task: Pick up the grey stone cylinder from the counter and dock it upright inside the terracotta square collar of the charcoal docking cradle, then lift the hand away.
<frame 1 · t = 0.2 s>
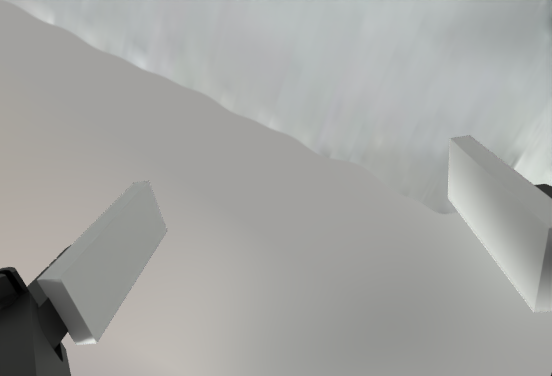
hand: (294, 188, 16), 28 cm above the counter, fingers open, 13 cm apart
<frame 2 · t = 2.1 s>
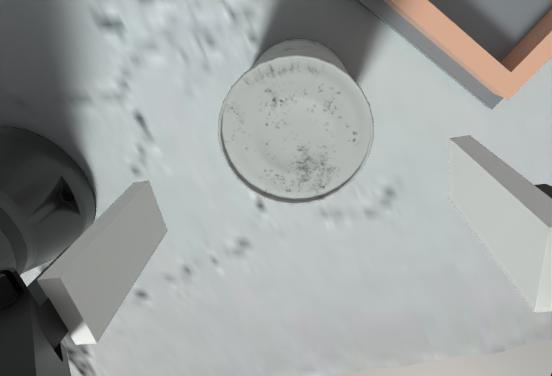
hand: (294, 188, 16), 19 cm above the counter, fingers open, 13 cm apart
grey stone cylinder: (297, 94, 33), on the counter
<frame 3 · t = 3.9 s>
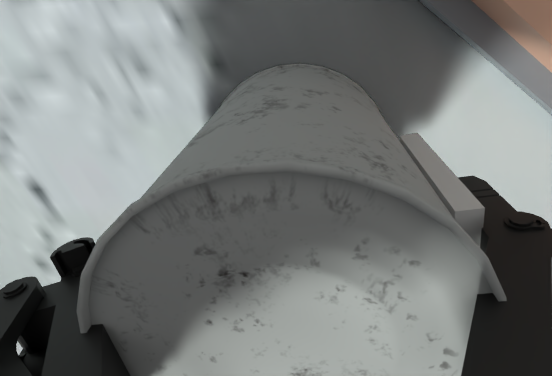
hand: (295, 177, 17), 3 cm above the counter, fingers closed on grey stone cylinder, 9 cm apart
grey stone cylinder: (296, 155, 19), on the counter, touching gripper
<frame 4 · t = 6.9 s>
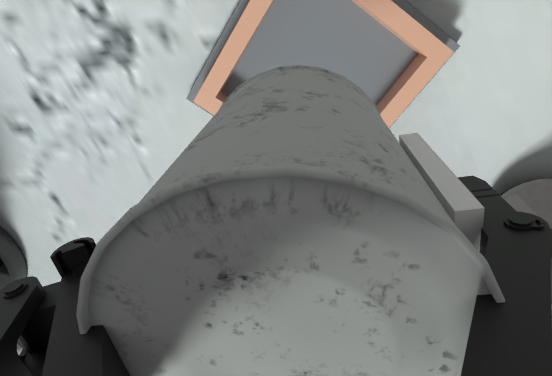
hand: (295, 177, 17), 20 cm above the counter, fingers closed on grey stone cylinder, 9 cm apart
grey stone cylinder: (296, 157, 19), point 18 cm above the counter, touching gripper
docking cradle: (315, 71, 34), on the counter
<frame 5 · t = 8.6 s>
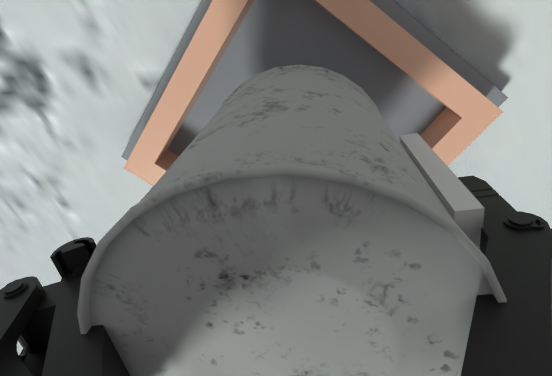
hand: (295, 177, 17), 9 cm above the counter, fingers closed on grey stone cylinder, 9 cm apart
grey stone cylinder: (297, 156, 19), point 6 cm above the counter, touching gripper
docking cradle: (299, 125, 24), on the counter
when the fingers open (5 cm above the counter, at t = 9.8 s): grey stone cylinder drops 1 cm, resting on docking cradle.
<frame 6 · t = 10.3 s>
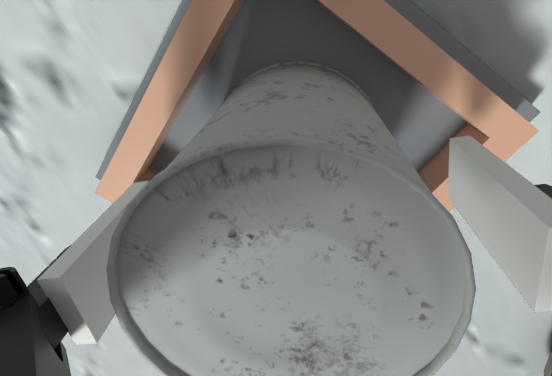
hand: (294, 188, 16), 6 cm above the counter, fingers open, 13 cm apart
grey stone cylinder: (296, 147, 21), point 1 cm above the counter, touching docking cradle
docking cradle: (297, 141, 21), on the counter
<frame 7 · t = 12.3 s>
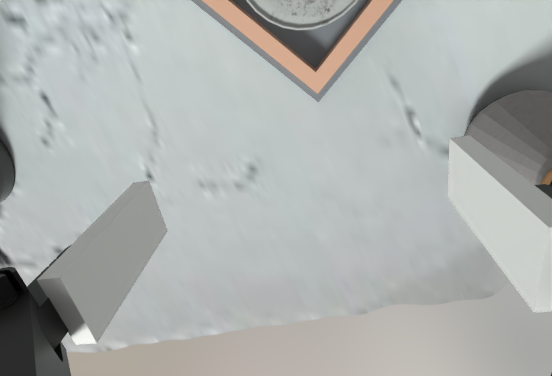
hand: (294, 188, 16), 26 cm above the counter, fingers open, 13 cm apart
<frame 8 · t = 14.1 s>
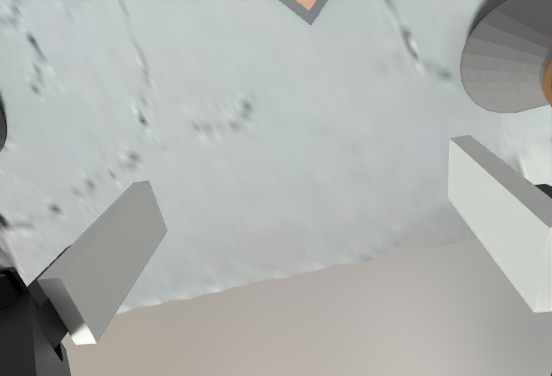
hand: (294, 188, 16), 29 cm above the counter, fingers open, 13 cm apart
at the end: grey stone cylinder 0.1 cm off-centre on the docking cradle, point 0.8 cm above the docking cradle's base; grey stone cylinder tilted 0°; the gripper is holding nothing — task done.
